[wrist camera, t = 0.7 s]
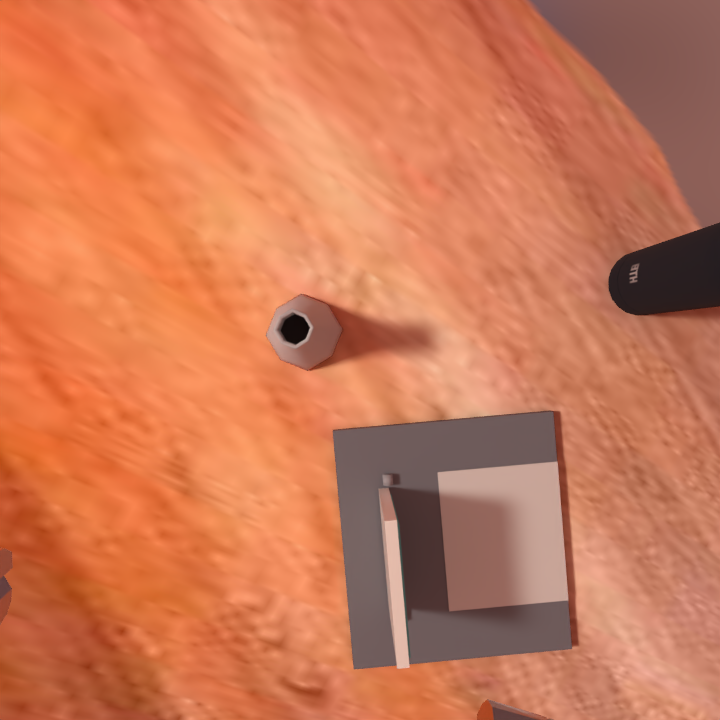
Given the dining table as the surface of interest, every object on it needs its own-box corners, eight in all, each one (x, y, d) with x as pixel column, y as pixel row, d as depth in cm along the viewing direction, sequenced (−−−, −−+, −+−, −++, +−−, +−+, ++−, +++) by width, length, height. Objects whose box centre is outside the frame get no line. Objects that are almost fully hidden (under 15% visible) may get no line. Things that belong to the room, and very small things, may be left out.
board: (568, 644, 55) (575, 654, 53) (353, 664, 54) (353, 674, 53) (550, 410, 54) (556, 412, 52) (333, 429, 54) (332, 432, 52)
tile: (400, 607, 53) (412, 667, 43) (388, 608, 53) (397, 668, 43) (390, 487, 53) (399, 519, 43) (378, 488, 53) (384, 521, 43)
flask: (355, 328, 54) (356, 324, 44) (308, 383, 54) (298, 391, 44) (300, 281, 54) (288, 265, 44) (253, 336, 54) (231, 333, 44)
